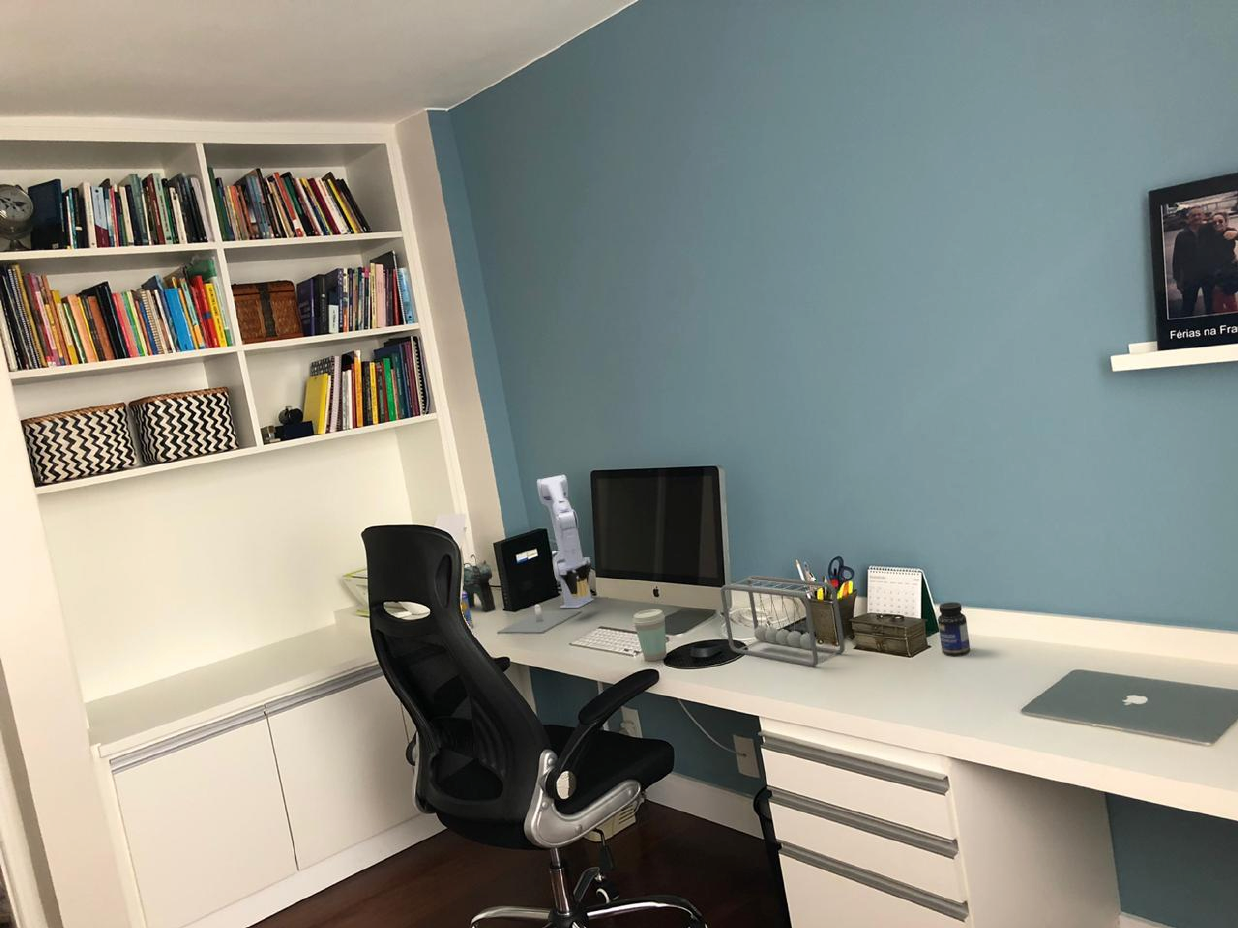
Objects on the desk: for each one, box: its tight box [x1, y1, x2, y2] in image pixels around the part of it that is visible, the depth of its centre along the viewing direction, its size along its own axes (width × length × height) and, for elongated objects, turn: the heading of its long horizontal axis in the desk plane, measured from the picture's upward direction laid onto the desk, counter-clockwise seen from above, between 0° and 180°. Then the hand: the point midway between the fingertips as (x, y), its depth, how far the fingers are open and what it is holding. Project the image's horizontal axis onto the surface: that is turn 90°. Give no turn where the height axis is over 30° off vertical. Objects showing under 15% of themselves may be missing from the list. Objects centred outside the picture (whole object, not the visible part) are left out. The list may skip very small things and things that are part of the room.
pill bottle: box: [937, 601, 971, 657], centre depth 224 cm, size 6×6×11 cm
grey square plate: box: [496, 604, 583, 635], centre depth 319 cm, size 22×18×6 cm
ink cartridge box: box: [461, 591, 474, 629], centre depth 329 cm, size 10×6×14 cm, turn 107°
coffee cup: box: [632, 608, 667, 662], centre depth 260 cm, size 9×8×12 cm
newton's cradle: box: [720, 575, 846, 668], centre depth 245 cm, size 30×10×18 cm, turn 37°
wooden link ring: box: [571, 578, 589, 598], centre depth 315 cm, size 6×6×5 cm
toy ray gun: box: [463, 554, 496, 613], centre depth 354 cm, size 20×6×20 cm, turn 37°
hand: (579, 591), depth 315 cm, fingers closed on wooden link ring, 6 cm apart
